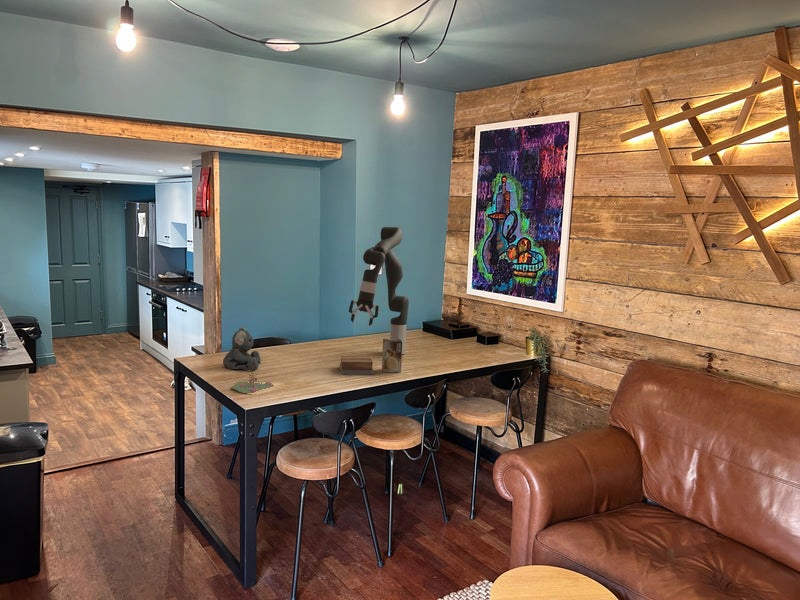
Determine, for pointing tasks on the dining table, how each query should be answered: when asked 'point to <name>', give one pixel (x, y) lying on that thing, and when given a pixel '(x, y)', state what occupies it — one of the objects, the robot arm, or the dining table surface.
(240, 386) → the plant
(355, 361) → the walnut brick
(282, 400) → the dining table surface
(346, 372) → the baseplate
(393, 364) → the coffee box
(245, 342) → the koala plush
